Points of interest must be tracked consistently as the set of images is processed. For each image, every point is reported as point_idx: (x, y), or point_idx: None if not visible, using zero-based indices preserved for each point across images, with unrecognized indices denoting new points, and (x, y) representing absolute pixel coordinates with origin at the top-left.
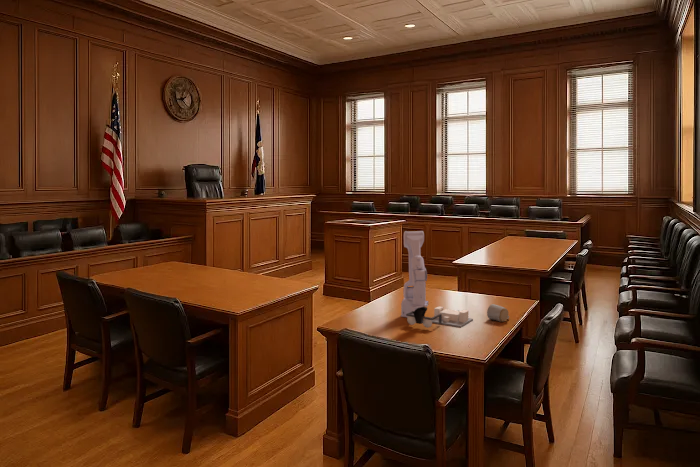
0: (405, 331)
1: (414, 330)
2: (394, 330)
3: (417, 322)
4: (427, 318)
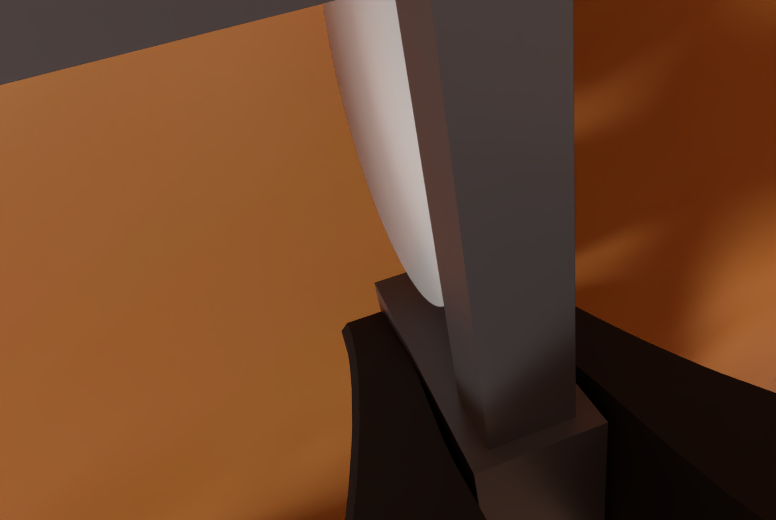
0: (756, 241)
1: (623, 186)
2: (771, 372)
3: None
4: (544, 145)
